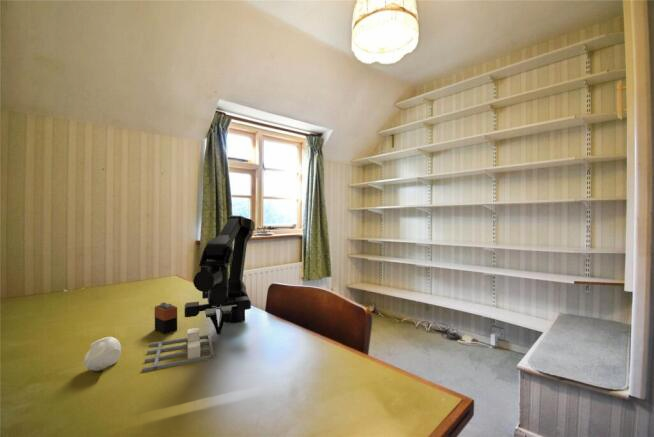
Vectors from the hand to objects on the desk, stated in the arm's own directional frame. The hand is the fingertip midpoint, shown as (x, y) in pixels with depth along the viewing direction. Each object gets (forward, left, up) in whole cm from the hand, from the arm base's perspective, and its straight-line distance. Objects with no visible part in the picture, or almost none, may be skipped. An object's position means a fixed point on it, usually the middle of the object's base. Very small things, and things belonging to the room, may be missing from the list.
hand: (218, 333), depth 91 cm
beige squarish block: (+7, +5, -1) cm, 9 cm away
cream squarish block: (+7, 0, -1) cm, 7 cm away
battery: (+15, -14, -3) cm, 21 cm away
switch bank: (+11, +5, -3) cm, 12 cm away
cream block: (+7, +10, -1) cm, 12 cm away
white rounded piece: (+28, +4, -3) cm, 28 cm away
